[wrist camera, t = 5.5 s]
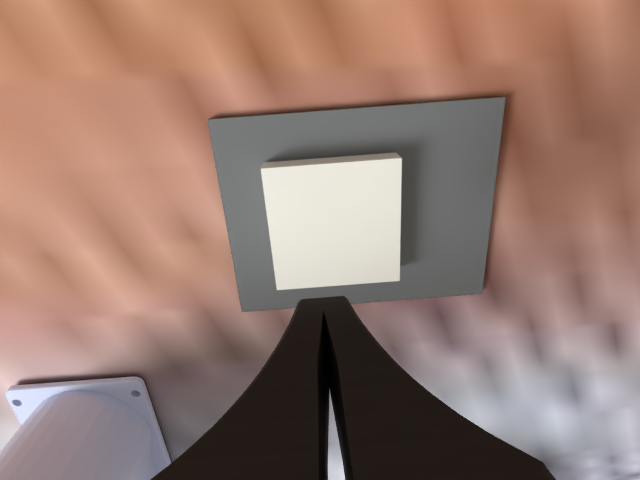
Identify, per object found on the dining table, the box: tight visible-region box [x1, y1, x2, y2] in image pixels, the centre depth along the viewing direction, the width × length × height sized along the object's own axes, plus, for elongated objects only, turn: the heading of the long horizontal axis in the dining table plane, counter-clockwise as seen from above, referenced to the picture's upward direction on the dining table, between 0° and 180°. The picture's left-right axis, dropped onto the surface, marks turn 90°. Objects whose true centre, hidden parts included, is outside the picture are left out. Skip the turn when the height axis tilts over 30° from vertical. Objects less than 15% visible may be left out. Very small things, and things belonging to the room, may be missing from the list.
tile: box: [261, 152, 402, 290], centre depth 18 cm, size 6×1×6 cm
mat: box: [207, 97, 506, 312], centre depth 19 cm, size 10×13×1 cm
